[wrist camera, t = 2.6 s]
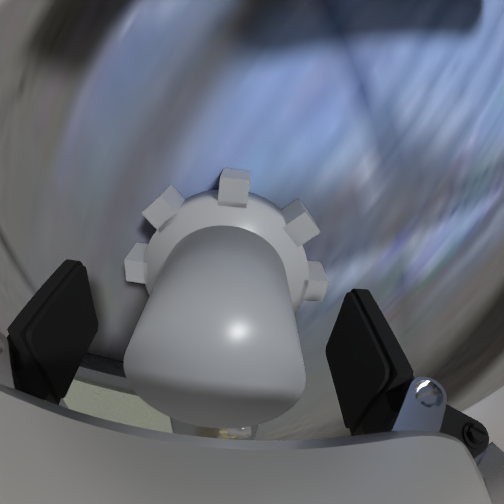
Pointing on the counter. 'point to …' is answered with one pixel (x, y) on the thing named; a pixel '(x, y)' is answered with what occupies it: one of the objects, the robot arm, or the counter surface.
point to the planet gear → (222, 305)
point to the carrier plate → (130, 402)
